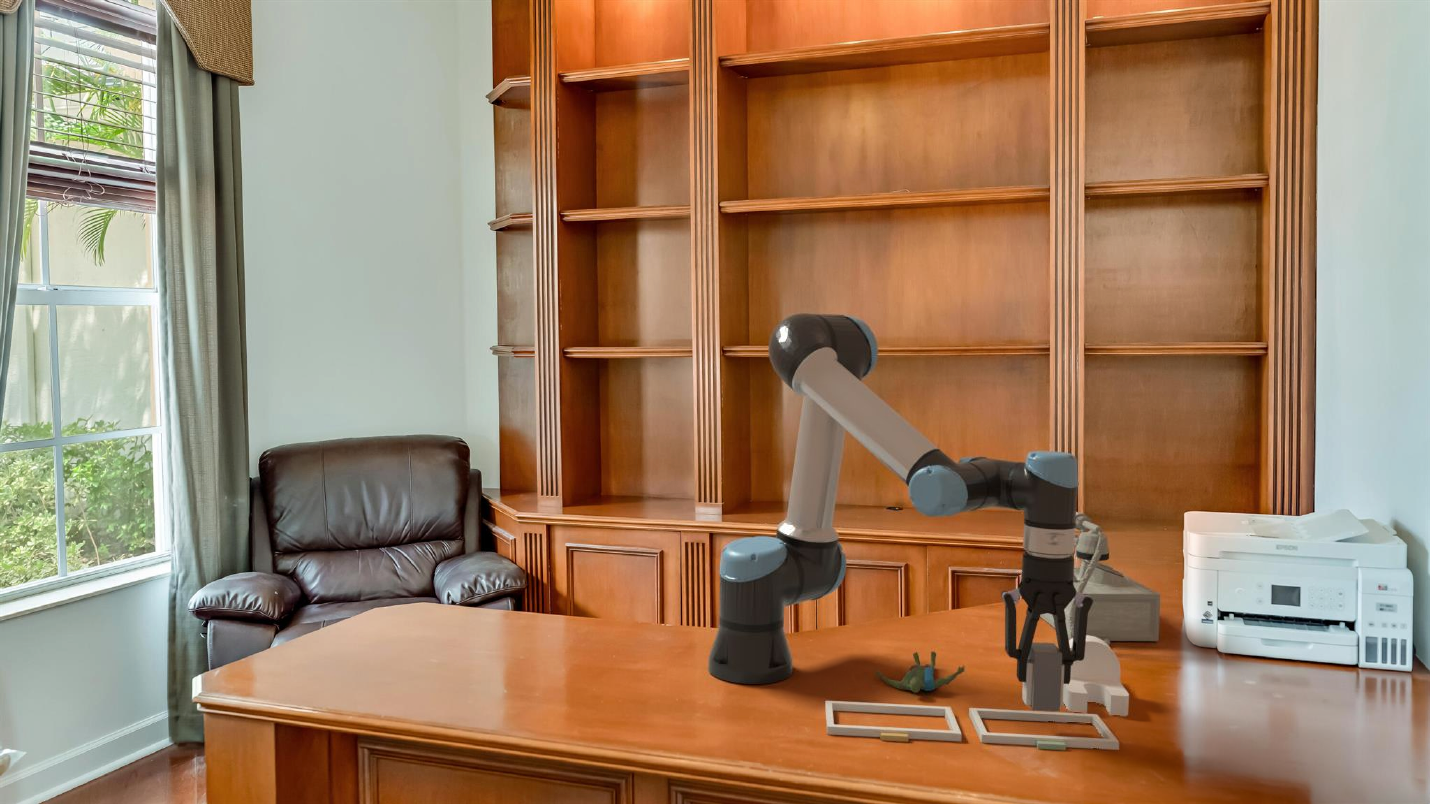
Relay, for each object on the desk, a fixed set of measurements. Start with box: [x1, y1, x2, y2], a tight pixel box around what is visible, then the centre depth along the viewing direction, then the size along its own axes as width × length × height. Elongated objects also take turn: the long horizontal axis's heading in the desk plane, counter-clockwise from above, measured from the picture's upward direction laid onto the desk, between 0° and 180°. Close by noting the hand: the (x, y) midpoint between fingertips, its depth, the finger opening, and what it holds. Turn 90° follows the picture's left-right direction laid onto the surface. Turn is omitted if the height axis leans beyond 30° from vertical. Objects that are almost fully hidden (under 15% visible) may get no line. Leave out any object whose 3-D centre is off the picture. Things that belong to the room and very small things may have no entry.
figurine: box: [875, 651, 966, 694], centre depth 176 cm, size 16×4×18 cm
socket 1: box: [824, 700, 962, 742], centre depth 156 cm, size 20×12×1 cm, turn 85°
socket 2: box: [968, 707, 1120, 751], centre depth 154 cm, size 20×12×1 cm, turn 85°
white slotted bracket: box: [1063, 635, 1130, 717], centre depth 171 cm, size 10×18×10 cm, turn 171°
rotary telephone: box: [1040, 511, 1161, 646], centre depth 211 cm, size 32×20×25 cm, turn 2°
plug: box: [1029, 641, 1062, 712], centre depth 154 cm, size 4×6×9 cm
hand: (1042, 702), depth 154 cm, fingers closed on plug, 4 cm apart
